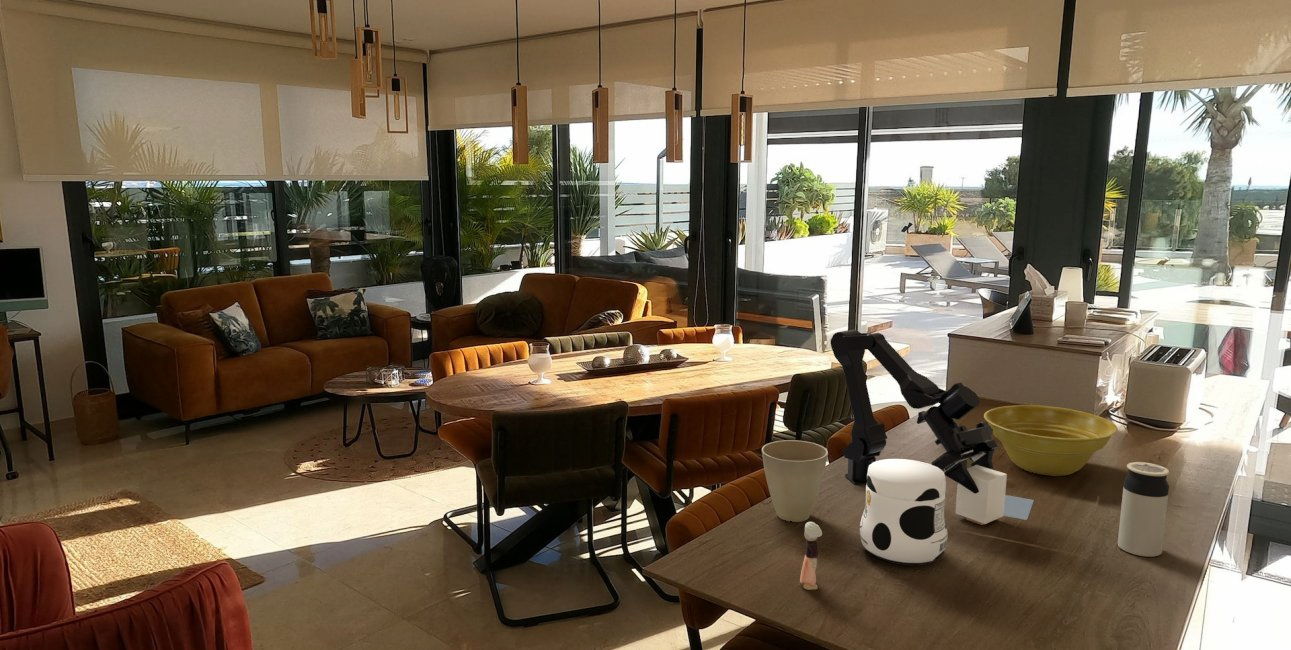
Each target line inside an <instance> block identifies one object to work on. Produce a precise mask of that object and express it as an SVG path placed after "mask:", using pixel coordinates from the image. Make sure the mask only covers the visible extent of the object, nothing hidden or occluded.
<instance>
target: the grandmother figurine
mask: <svg viewBox="0 0 1291 650" xmlns="http://www.w3.org/2000/svg"><path fill="white" fill-rule="evenodd" d="M822 535H823V531H822V529H821V528H820V526H819V525H818V524H816V523H815V522H814V521H808V522H806V523H805V525H804V538H805V539H806V540H805V544H804V546H805V555H804V559H803V562H802V566H801V570H800V578H799V582H800V584H803V585H802V587H803V589H805V590H811V591H812V590H813V591H814V590H818V588H819V586H818V584H817V576H816V569H817V566H818V565H817V564H818V556H819V548H818V544H817V543H818V542H817V539H818V537H819V538H820V537H821V536H822Z"/></svg>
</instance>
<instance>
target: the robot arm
mask: <svg viewBox="0 0 1291 650" xmlns="http://www.w3.org/2000/svg"><path fill="white" fill-rule="evenodd" d="M830 346H831V350H832V353H833V357H834V358H835V359H836V360H837V362H838V363H839V364H840V366H842V369H843V374H844V379H845V384H846V388H847V394H848V398H849V403H850V407H851V412H852V416H853V425H852V428H851V432H850V435H851V437H850V438H851V442H850V443H849V444H848V445H846V446H845V447H844V448H842V452H843V453H842V454H843V457H844V459H847V473H844V477H845V478H846V479H847V480H849V481H851V483H852V484H854V485H862V484H867V473H868V467H869V465H870V464H872V463H873V462H876V461H877V458H876V457H880V456H881V453H882V451H884V449H885V448H886V447H885V446H887V439H888V436H887V434H886V430H885V429H886V428H885V424H884V422H881V423H879V422H878V421H877V420H876V418H875V416H874V413H873V408H872V404H871V399H870V394H869V391H868V386H867V380H866V376H865V372H864V371H865V370H864V366H863V361H864V357H865V353H866V350H867V351H869V352H870V353H871V355H872V356H873V357H874V358H875V359H876V360H877V362H878V363H880V364H881V366H882V367H883V368H884V369H885V370H886V372H888V373H889V374H890V376H891V377H892V378H893V379H894V380H895V382H896V383H897V384H898V386H899V389H900V394H901V395H902V397H903V398H904V401H906V403H907V405H908V406H910V407H911V408H913V409H915V410H917V409H918V410H919V409H924V408H927V407H929V408H928V409H927V410H926V411H925V410H922V411H919V412H918V415H917V416H918V417H917V420H916V424H917V425H920V424H924V423H926V424H927V426H928V427H929V428H930V430H931V432H932V433H933V434H934V436H935V437H936V440H934V443H935V444H936V446H939V445H941V446H942V448H943V449H944V450H945V452H944V453H942V454H940V456H938V457H937V458H936V459H934V460H932V462H931V463H930V464H931V465H933V466H936V467H938V468H939V469H941V470H942V471H943V472H944V474H945V477H947V478H948V479H950V480H953V481H954V482H955V483H959V484H961V485H962V486H964V487H965V488H967V489H968V490H970V491H972V492H973V493H975V494H976V493H978V492H979V490H978V488H977V486H976V484H975V482H974V480H973V479H972V477H971V475H970V474H969V472H968V470H967V460H966V459H970V460H972V461H973V463H972V464H971V466H975V465H979V466H982V467H985V468H989V469H992V470H995V468H994V465H993V456H994V454H995V451H996V449H997V448H998V447H999V446H998V445H997V443H996V442H995V440H994V439H993V436H992V435H993V429H992V428H991V426H990V425H989V423H988V422H987V421H986V420H985V421H982V422H978V423H976V427H974V428H970V429H968V428H967V427H966V426H965V425H959V424H958V422H957V421H956V420H961V419H963V418H964V417H965V416H967V415H968V414H969V413H970V412H973V410H975V409H976V408H978V406H979V405H980V399H979V396H978V395H977V393H976V392H975V391H973V390H972V389H970V388H969V387H967V386H965V385H964V384H963V383H962V382H961V381H960V382H956V383H954V384H953V385H952V386H951V387H950V388H949V389H948V390H944V389H943V388H939V386H938V385H937V384H936V383H934V382H933V381H932V380H931V379H929V377H927V376H925V375H923V374H921V373H919V372H916V370H914V369H913V368H912V367H911V365H909V364H908V362H907V361H906V360H905V359H904V357H902V356H901V355H900V353H898V351H897V350H896V349H895V348H894V347H893V346H892V344H890V343H889V342H888V340H886V337H885V335H884V334H882V333H880V332H874V333H871V332H864V333H863V332H860V331H859V330H858V329H850V330H849V329H848V330H841V331H838V332H835V333H833V335H832V336H831V338H830ZM937 404H939V405H938V406H935V405H937ZM930 406H931V407H930ZM961 456H962V457H961ZM963 460H964V461H963Z"/></svg>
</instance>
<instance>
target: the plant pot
mask: <svg viewBox="0 0 1291 650" xmlns="http://www.w3.org/2000/svg"><path fill="white" fill-rule="evenodd" d="M828 453H829V452H828V449H827V448H826V447H825V446H823V445H820V444H817V443H815V442H810V441H805V440H796V439H795V440H792V439H791V440H789V439H788V440H786V439H785V440H776V441H773V442H769V443H766V444H765V445H763V446H762V448H761V454H762V455H761V456H762V461H763V463H762V464H763V469H764V474H765V479H766V482H767V487H768V491H769V494H770V498H771V500H772V504H773V507H774V509H775V513H776V515H777V517H778V518H779V519H781V520H783V521H785V520H786V522H790V521H792V522H794V523H801V522H805V521H807V520H808V519H809V518H810V517H811V515H812V512H813V509H814V508H815V505H816V502H817V500H818V496H819V493H820V490H821V487H822V483H823V480H824V476H825V475H824V474H825V471H826V465H827V459H828Z"/></svg>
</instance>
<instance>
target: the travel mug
mask: <svg viewBox="0 0 1291 650" xmlns="http://www.w3.org/2000/svg"><path fill="white" fill-rule="evenodd" d="M1126 468H1127V471H1128V474H1127V475H1126V476H1125V478H1124V479H1123V487H1122V497H1121V498H1122V500H1121V507H1120V516H1119V518H1120V519H1119V526H1118V527H1119V528H1118V537H1117V538H1118V539H1117V545H1118V548H1120V549H1122V550H1123V551H1125V552H1126V553H1128V554H1130V555H1134V556H1139V557H1143V558H1147V557H1148V558H1153V557H1157V556H1160V555H1162V552H1163V545H1164V535H1165V526H1166V518H1167V517H1166V516H1167V509H1168V500H1169V490H1170V486H1169V483H1168V481H1167V477H1168V475H1169V474H1170V471H1169V469H1168V468H1166V467H1164V466H1161V465H1159V464H1156V463H1150V462H1144V461H1143V462H1142V461H1135V462H1134V461H1132V462H1129V463H1127V465H1126Z"/></svg>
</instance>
